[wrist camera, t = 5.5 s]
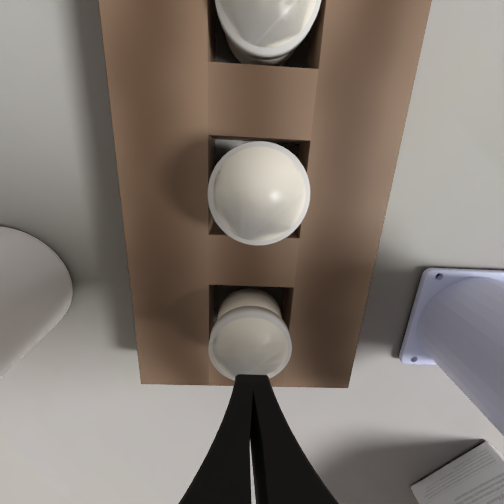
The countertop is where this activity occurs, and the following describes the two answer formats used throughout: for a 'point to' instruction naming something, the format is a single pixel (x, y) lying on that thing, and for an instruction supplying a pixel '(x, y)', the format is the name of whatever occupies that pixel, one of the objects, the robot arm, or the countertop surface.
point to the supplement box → (466, 480)
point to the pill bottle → (28, 294)
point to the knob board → (255, 129)
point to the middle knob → (258, 193)
